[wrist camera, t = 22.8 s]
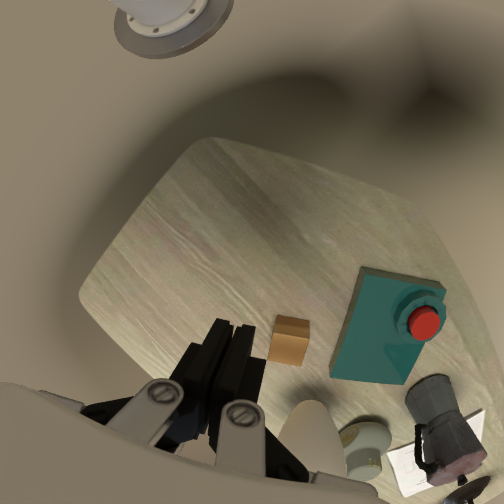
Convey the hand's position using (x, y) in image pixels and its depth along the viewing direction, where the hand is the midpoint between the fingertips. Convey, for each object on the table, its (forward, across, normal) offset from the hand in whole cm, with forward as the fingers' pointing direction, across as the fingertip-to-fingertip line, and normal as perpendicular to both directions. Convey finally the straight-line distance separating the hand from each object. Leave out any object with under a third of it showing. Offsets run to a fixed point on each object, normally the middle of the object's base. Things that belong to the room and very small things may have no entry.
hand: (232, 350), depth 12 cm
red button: (+21, -20, +7) cm, 30 cm away
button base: (+25, -17, +11) cm, 32 cm away
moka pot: (+25, -30, +23) cm, 46 cm away
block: (+25, -4, +14) cm, 29 cm away
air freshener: (+25, -22, +34) cm, 48 cm away
